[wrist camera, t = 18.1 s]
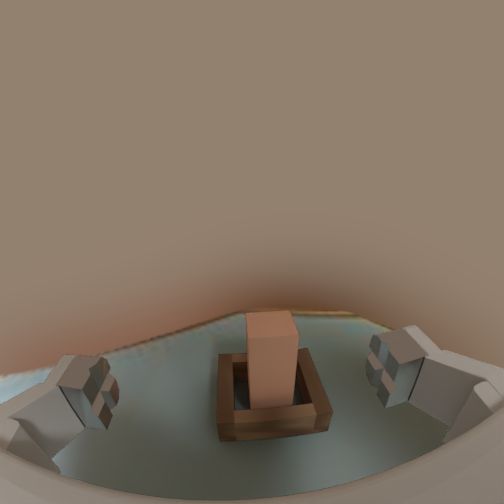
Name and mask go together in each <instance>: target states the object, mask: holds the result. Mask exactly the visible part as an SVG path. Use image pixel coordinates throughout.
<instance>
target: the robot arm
mask: <svg viewBox="0 0 504 504" xmlns="http://www.w3.org/2000/svg"><path fill="white" fill-rule="evenodd" d="M369 347H370V348H371V350H372V352H371V353H370V355H369V356H368V357H367V361H366V374H367V377H368V380H369V382H370V384H371V385H372V386H375V387H377V388H378V392H377V396H378V397H379V399H380V401H381V402H382V404H383V406H384V408H388V407H392V406H395V405H398V404H401V403H404V402H407V401H409V402H408V403H410V404H412V405H413V406H415V407H417V408H418V409H420V410H422V411H423V412H425V413H427V414H428V415H430V416H432V417H434V418H435V419H437V420H439V421H440V422H442V423H444V424H446V425H447V426H449V427H451V428H450V429H449V431H448V432H447V434H446V435H445V437H444V439H443V441H442V442H443V443H444V445H442V446H440V447H438V448H436V449H434V450H432V451H430V452H428V453H426V454H424V455H422V456H419V457H417V458H415V459H413V460H410V461H408V462H406V463H403V464H401V465H398V466H396V467H393V468H391V469H388V470H385V471H383V472H380V473H377V474H374V475H371V476H368V477H365V478H362V479H359V480H355V481H352V482H348V483H345V484H341V485H337V486H333V487H329V488H324V489H320V490H315V491H310V492H305V493H299V494H293V495H286V496H279V497H271V498H261V499H248V500H223V501H209V500H184V499H172V498H162V497H154V496H147V495H140V494H134V493H129V492H123V491H118V490H114V489H109V488H105V487H101V486H97V485H93V484H90V483H86V482H83V481H79V480H76V479H73V478H70V477H67V476H64V475H61V474H60V472H61V471H60V469H59V467H58V466H57V465H56V464H55V463H54V462H53V461H52V460H51V458H53V457H54V456H55V455H56V454H57V453H58V452H59V451H60V450H62V449H63V448H64V447H65V446H66V445H67V444H68V443H69V442H70V441H72V440H73V439H74V438H75V437H76V436H77V435H78V434H79V433H80V432H82V431H83V430H84V429H85V427H88V428H94V429H101V430H107V429H108V426H109V424H110V421H111V418H112V416H113V415H112V413H111V409H112V408H114V407H115V406H116V405H117V402H118V400H119V388H118V384H117V381H116V379H115V378H114V377H113V376H112V375H111V374H110V373H109V370H110V366H109V364H108V362H107V359H105V358H103V357H93V356H82V355H71V354H66V355H63V356H62V358H61V359H60V360H59V362H58V363H57V365H56V366H55V367H54V369H53V370H52V372H51V373H50V374H49V376H48V377H47V379H46V380H45V382H44V383H39V384H37V385H35V386H33V387H31V388H30V389H28V390H26V391H24V392H22V393H20V394H19V395H17V396H15V397H13V398H11V399H10V400H8V401H6V402H4V403H2V404H0V504H504V369H503V368H500V367H497V366H493V365H490V364H487V363H483V362H481V361H477V360H475V359H471V358H468V357H465V356H462V355H459V354H456V353H453V352H450V351H447V350H443V351H441V350H440V349H439V348H438V347H437V346H436V345H435V344H434V343H433V342H432V341H431V340H430V339H429V338H428V337H427V336H426V335H425V334H424V333H423V332H422V331H421V330H420V329H419V328H418V327H417V326H414V325H411V326H407V327H404V328H401V329H398V330H394V331H390V332H386V333H382V334H377V335H373V336H372V338H371V340H370V345H369Z"/></svg>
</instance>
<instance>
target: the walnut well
mask: <svg viewBox="0 0 504 504" xmlns="http://www.w3.org/2000/svg"><path fill="white" fill-rule="evenodd" d="M295 377H296V380H297V384H298V387H299V390H300V394H301V397H302V400H303V404H302V405H294V406H286V407H276V408H265V409H252V410H235V394H234V382H237V381H248V367H247V353H238V354H219V360H218V389H217V428H218V433H219V438H220V441H246V440H261V439H272V438H282V437H290V436H298V435H304V434H311V433H317V432H322V431H328V427H329V424H330V421H331V417H332V413H333V411H332V408H331V406H330V403H329V401H328V398H327V396H326V393H325V391H324V388H323V386H322V383H321V381H320V378H319V376H318V373H317V371H316V368H315V366H314V363H313V361H312V358H311V356H310V353H309V351H308V348H303V349H298V354H297V365H296V375H295Z"/></svg>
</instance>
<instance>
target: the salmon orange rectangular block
mask: <svg viewBox="0 0 504 504" xmlns="http://www.w3.org/2000/svg"><path fill="white" fill-rule="evenodd" d="M245 314H246V341H247V367H248V391H249V401H250V410H252V409H265V408H276V407H286V406H292V403H293V395H294V385H295V375H296V365H297V354H298V342H299V333H298V330H297V328H296V325H295V323H294V320H293V318H292V315H291V312H290V310H285V311H271V312H253V313H245Z"/></svg>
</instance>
